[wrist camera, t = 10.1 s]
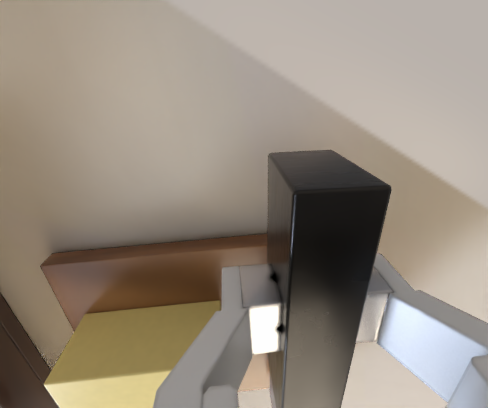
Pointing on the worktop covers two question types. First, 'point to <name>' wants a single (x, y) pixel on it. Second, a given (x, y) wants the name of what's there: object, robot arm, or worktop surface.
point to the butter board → (154, 280)
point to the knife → (320, 269)
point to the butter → (125, 355)
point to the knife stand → (20, 367)
